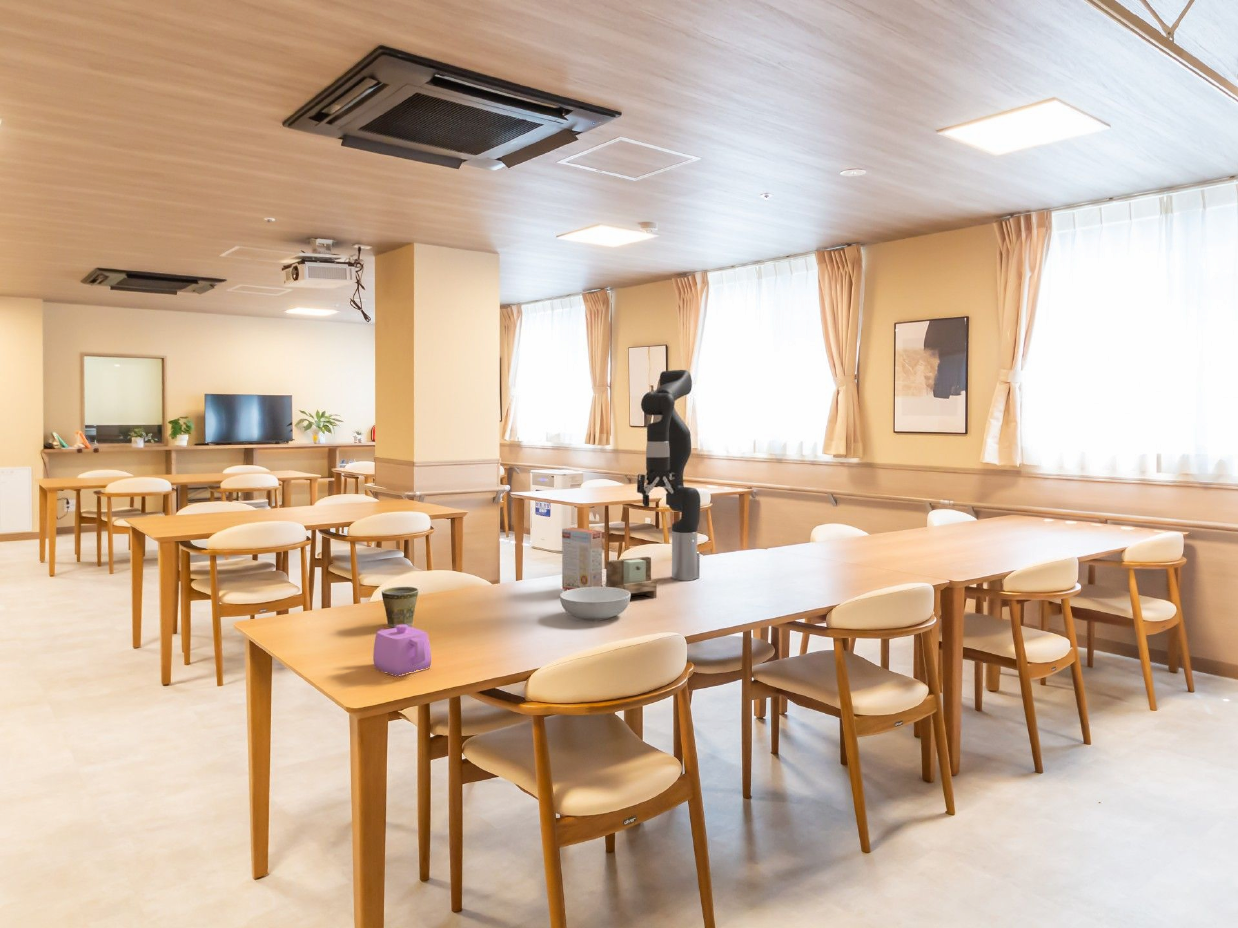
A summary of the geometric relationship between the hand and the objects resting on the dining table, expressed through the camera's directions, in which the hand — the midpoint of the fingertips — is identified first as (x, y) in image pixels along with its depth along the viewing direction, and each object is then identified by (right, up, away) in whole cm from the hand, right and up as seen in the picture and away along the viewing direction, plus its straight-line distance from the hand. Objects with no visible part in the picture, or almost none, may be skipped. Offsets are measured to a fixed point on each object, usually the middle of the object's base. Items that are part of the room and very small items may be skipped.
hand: (657, 505), depth 265 cm
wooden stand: (-8, -30, +3) cm, 31 cm away
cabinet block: (-7, -26, +2) cm, 27 cm away
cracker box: (-25, -30, +13) cm, 41 cm away
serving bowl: (-19, -32, -22) cm, 43 cm away
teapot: (-64, -35, -71) cm, 102 cm away
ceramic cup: (-74, -32, -31) cm, 87 cm away
